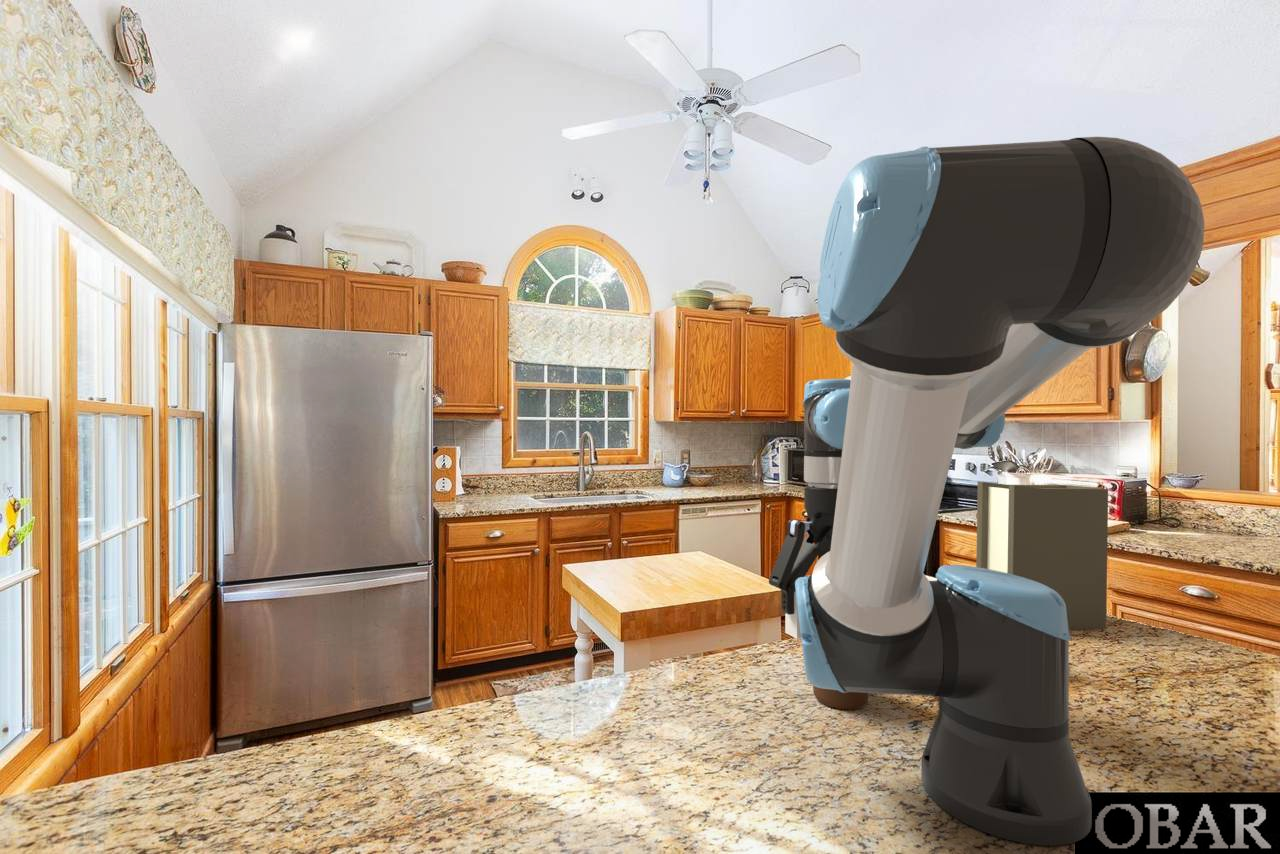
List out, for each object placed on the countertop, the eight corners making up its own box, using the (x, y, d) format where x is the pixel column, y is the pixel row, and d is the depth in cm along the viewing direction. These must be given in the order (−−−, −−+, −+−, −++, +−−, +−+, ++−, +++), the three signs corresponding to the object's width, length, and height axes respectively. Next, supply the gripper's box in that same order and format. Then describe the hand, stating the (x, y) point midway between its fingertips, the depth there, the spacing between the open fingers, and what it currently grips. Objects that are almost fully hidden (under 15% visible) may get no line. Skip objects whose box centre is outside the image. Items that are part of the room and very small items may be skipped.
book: (1067, 617, 125) (1069, 482, 125) (1109, 631, 115) (1111, 486, 116) (975, 620, 121) (977, 481, 121) (1011, 635, 112) (1014, 485, 112)
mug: (788, 678, 93) (788, 617, 93) (832, 673, 95) (832, 614, 95) (831, 714, 81) (831, 644, 81) (880, 707, 83) (880, 639, 83)
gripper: (775, 492, 80) (775, 650, 80) (914, 483, 90) (914, 624, 90) (744, 486, 87) (744, 632, 87) (876, 478, 96) (876, 610, 97)
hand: (831, 629), depth 88 cm, fingers open, 13 cm apart
